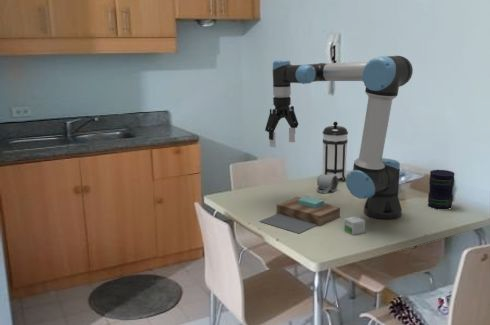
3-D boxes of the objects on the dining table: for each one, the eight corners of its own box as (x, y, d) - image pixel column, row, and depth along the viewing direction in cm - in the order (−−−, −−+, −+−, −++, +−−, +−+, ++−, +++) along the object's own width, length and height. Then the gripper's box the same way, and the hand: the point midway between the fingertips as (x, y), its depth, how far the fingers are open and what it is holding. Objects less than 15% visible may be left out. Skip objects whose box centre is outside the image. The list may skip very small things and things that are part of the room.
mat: (317, 225, 199) (317, 224, 199) (299, 233, 190) (299, 233, 190) (278, 214, 212) (278, 213, 212) (259, 221, 204) (259, 221, 204)
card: (324, 205, 210) (324, 200, 210) (315, 208, 206) (315, 204, 205) (306, 200, 216) (306, 196, 216) (297, 204, 212) (297, 199, 211)
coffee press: (312, 178, 265) (312, 121, 258) (334, 173, 274) (336, 118, 267) (335, 185, 251) (336, 125, 244) (358, 180, 260) (360, 122, 253)
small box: (343, 230, 194) (344, 218, 193) (356, 227, 196) (356, 215, 195) (352, 235, 189) (353, 222, 187) (365, 232, 191) (365, 220, 190)
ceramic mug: (323, 186, 250) (323, 171, 248) (338, 189, 245) (338, 173, 244) (312, 192, 242) (313, 177, 240) (328, 195, 237) (328, 179, 235)
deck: (339, 216, 208) (340, 207, 207) (320, 225, 198) (320, 216, 197) (297, 205, 223) (297, 196, 222) (276, 213, 213) (276, 204, 212)
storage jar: (456, 206, 218) (459, 172, 214) (444, 211, 212) (446, 177, 208) (435, 201, 225) (438, 168, 222) (422, 205, 219) (425, 172, 216)
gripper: (292, 93, 232) (293, 139, 236) (256, 98, 214) (257, 148, 219) (306, 94, 227) (306, 141, 231) (269, 99, 209) (270, 150, 214)
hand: (282, 144), depth 225 cm, fingers open, 13 cm apart
